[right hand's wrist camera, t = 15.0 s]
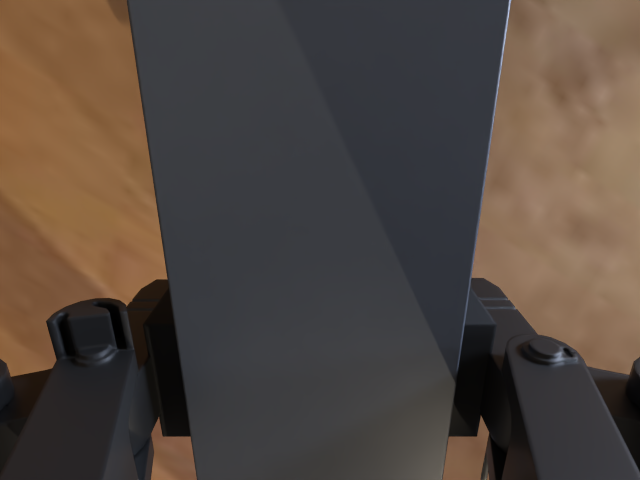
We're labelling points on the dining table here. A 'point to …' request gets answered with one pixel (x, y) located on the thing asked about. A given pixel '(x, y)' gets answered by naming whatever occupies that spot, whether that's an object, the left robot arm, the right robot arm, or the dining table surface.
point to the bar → (319, 222)
